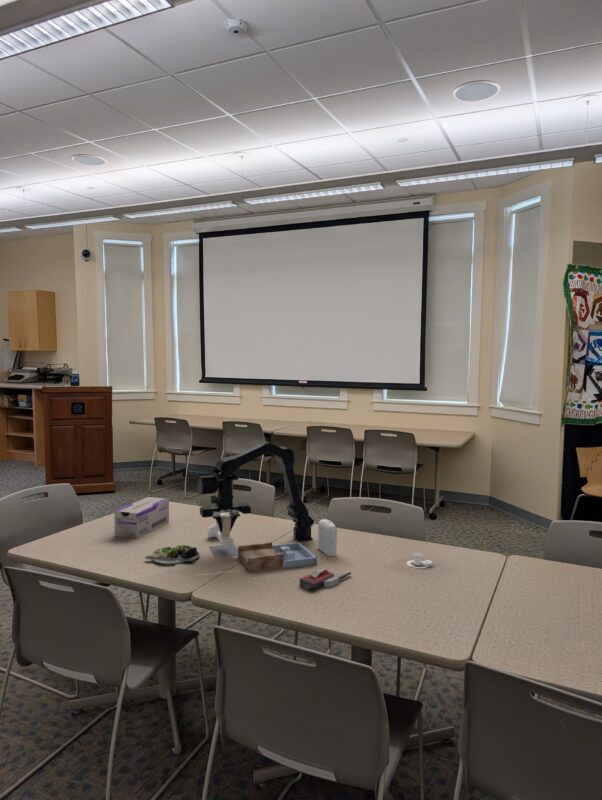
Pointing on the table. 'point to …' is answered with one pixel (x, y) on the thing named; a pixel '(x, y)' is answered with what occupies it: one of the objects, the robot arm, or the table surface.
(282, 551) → the chip
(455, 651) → the table surface
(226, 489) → the robot arm
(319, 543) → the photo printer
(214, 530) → the bust
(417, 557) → the teacup and saucer
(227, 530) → the plate with square knob
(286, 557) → the grey square block
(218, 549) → the mat
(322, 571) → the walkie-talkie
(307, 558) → the chip tray
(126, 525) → the surgical sutures box
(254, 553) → the groove block
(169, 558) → the salad plate
